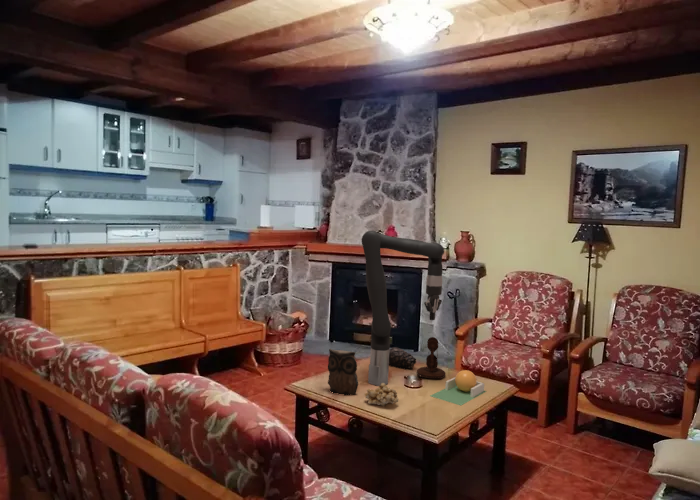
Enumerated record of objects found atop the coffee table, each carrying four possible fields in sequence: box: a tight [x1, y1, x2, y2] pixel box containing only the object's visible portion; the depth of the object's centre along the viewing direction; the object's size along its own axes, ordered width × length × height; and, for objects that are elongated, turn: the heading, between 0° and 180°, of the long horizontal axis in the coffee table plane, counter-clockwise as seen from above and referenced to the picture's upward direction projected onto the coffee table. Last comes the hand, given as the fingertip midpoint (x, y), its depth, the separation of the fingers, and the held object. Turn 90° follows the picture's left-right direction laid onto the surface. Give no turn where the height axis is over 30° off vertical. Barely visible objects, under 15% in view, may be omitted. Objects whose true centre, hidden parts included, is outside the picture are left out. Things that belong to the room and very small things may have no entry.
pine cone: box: [389, 346, 417, 371], centre depth 283 cm, size 10×18×10 cm, turn 63°
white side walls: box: [444, 376, 485, 398], centre depth 248 cm, size 12×14×4 cm
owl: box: [327, 348, 359, 396], centre depth 239 cm, size 13×13×20 cm
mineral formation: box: [364, 383, 399, 407], centre depth 227 cm, size 8×13×15 cm
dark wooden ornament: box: [416, 336, 446, 381], centre depth 267 cm, size 15×15×20 cm
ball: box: [455, 369, 477, 392], centre depth 247 cm, size 10×10×10 cm
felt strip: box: [429, 386, 487, 407], centre depth 243 cm, size 26×16×1 cm, turn 140°
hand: (432, 319), depth 250 cm, fingers closed
